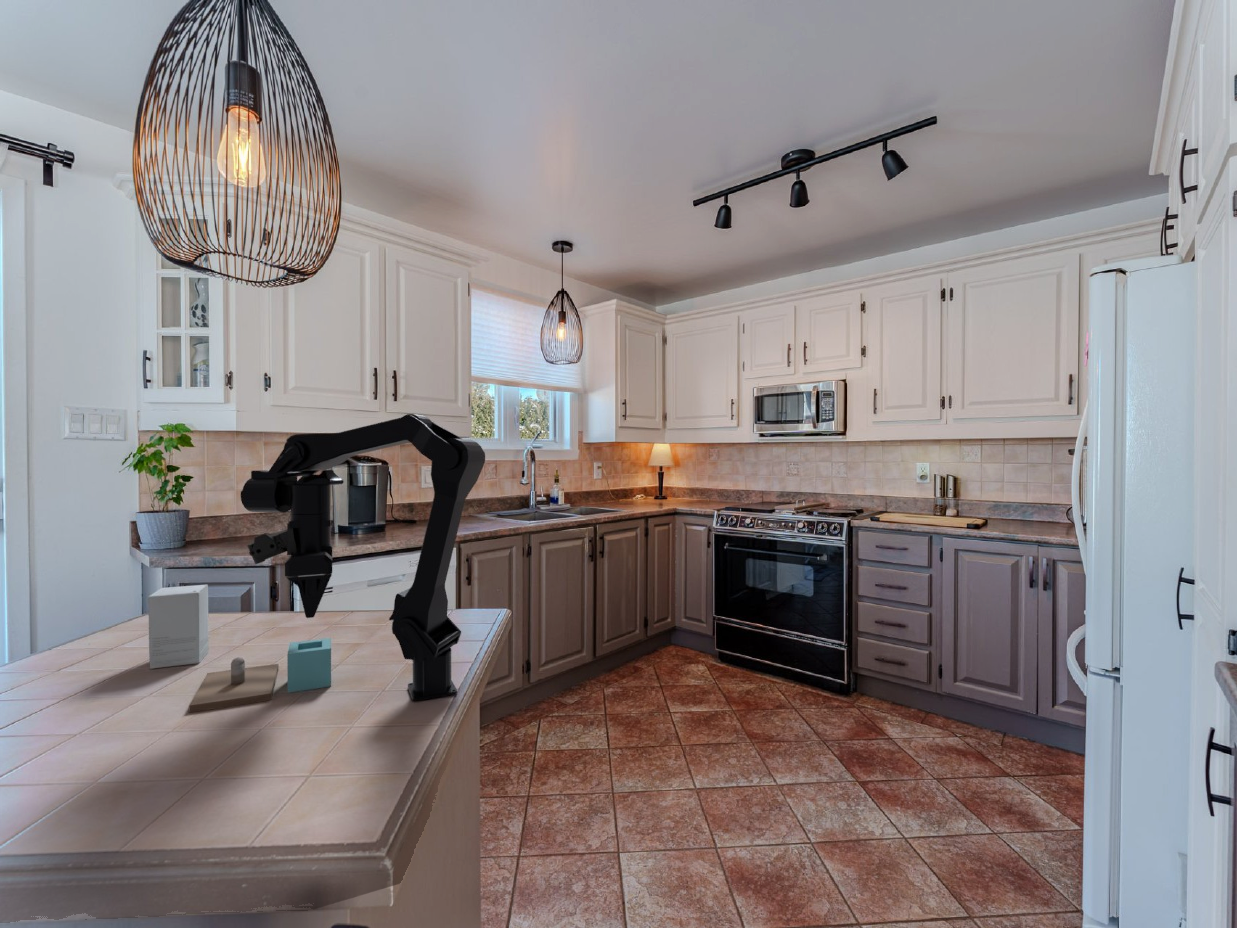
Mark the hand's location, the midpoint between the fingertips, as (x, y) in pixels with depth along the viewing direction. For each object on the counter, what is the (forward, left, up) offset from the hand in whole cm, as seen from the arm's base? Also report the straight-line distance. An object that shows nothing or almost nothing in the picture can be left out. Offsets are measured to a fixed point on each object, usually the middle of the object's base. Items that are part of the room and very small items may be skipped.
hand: (310, 610), depth 94 cm
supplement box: (+22, +21, -12) cm, 33 cm away
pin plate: (+2, +10, -12) cm, 15 cm away
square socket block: (0, 0, -12) cm, 12 cm away
